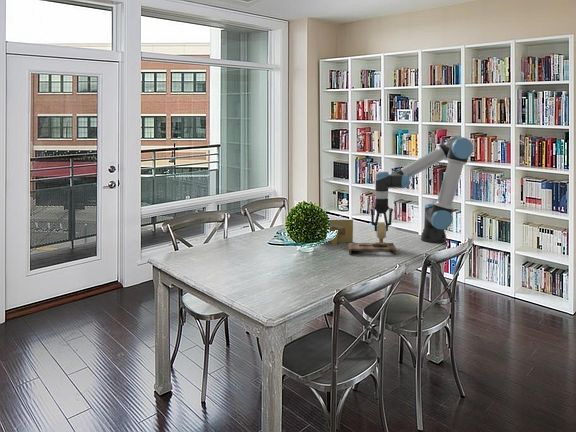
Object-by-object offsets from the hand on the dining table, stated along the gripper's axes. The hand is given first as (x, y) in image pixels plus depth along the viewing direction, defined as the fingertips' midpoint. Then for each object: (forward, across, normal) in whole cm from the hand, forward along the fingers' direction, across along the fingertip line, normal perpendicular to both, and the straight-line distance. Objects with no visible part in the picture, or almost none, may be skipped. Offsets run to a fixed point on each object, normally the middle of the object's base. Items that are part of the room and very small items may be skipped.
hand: (381, 236), depth 301 cm
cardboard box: (+6, -28, +6) cm, 29 cm away
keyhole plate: (+6, -7, -14) cm, 17 cm away
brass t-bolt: (+6, 0, 0) cm, 6 cm away
